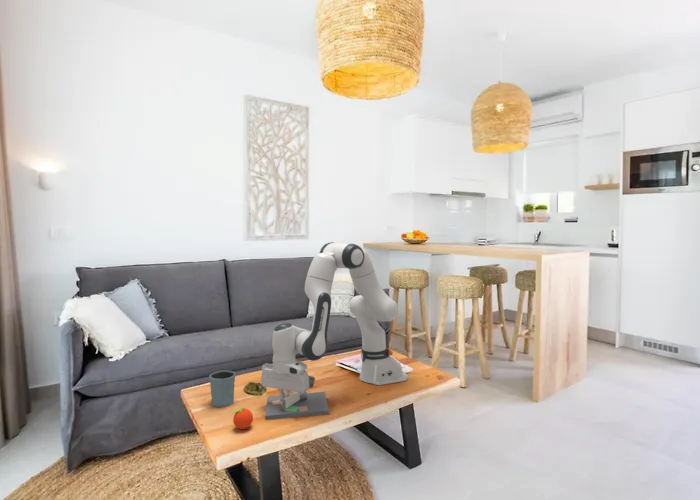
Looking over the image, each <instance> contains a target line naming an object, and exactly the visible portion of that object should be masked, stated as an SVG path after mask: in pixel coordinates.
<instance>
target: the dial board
mask: <svg viewBox="0 0 700 500" xmlns="http://www.w3.org/2000/svg"><path fill="white" fill-rule="evenodd" d="M266 397H267V398H266V406H265V415H264V419H265V420H266V421H267V420H276V419H288V418H289V419H291V418H297V417H298V418H300V417H311V416H321V415H322V416H323V415H330V410H329V409H330V408H329V405H328V401H327V400H328V399H327V396H326V392H325V391H317V392H307V399H305V400H299V401H297V402H296V403H294V404H292V405H291V406H289V407H288V408H286V409H285V410H283V411H282V410H280V400H281V395H280V394H279V395H270V396H266Z"/></svg>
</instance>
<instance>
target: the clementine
mask: <svg viewBox="0 0 700 500" xmlns="http://www.w3.org/2000/svg"><path fill="white" fill-rule="evenodd" d="M232 416H233V420H232V421H233V424H234V426H235V428H237V429H239V430H246V429H248V428H249V427H250V426H251V425H252V423H253V421H254V415H253V413H252V411H251V410H250V409H248V408H245V407H244V408H239V409H237V410H235V411H234V412H233V413H232V414H231V415H230V418H229V419H231V417H232Z"/></svg>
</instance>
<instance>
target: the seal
mask: <svg viewBox="0 0 700 500" xmlns="http://www.w3.org/2000/svg"><path fill="white" fill-rule="evenodd" d="M267 390H268V388H267V387H263V386H262V384H261V382H254V381H252V382H251V381H250V382H248V383H247V384H246V385H244V387H243V392H244V393H245V394H247V395H250V396H256V397H257V396H263V395H265V394H266V392H267Z"/></svg>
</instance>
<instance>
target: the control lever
mask: <svg viewBox="0 0 700 500" xmlns="http://www.w3.org/2000/svg"><path fill="white" fill-rule="evenodd" d="M307 393H308V392H307V391H305V392H304V393H303V392H296V391H293V392H291V393H290V394H289V395H288V396H287V397H285V398H283V399H281V400H280V410H282V411H283V410H285V409H286V408H288V407H289V406H291V405H292V404H294V403H296V402H297V401H299V400H305V399H307Z"/></svg>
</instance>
